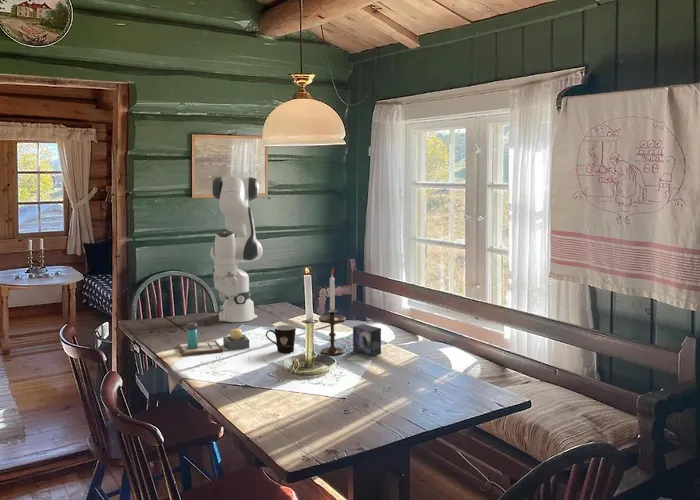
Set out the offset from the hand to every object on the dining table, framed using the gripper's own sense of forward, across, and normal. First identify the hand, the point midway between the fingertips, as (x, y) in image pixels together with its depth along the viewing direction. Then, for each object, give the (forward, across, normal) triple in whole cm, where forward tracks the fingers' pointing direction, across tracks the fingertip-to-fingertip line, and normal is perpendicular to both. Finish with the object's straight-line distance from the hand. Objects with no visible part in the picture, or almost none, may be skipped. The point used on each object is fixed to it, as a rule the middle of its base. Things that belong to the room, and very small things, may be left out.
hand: (226, 303), depth 280 cm
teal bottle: (+17, +1, +14) cm, 22 cm away
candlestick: (+18, -29, -34) cm, 49 cm away
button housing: (+18, -1, -4) cm, 19 cm away
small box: (+18, -36, -47) cm, 61 cm away
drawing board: (+18, +2, +11) cm, 22 cm away
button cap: (+16, -1, -4) cm, 16 cm away
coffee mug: (+18, -17, -18) cm, 31 cm away
